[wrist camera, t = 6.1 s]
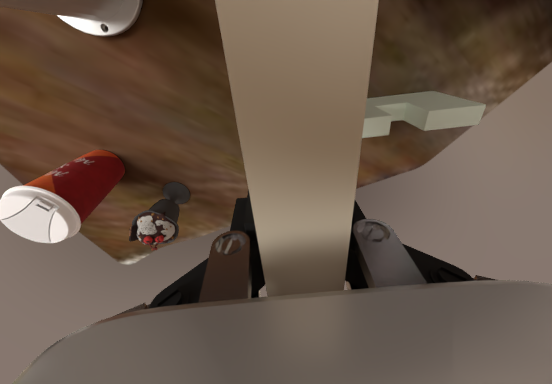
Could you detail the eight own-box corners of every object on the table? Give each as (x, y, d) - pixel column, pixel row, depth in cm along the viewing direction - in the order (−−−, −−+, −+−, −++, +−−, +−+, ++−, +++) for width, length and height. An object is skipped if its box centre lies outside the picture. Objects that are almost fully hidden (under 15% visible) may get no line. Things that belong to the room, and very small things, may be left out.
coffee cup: (93, 132, 36) (2, 178, 24) (141, 165, 40) (84, 221, 27) (71, 165, 39) (-21, 222, 27) (117, 194, 43) (56, 256, 30)
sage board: (318, 104, 36) (335, 122, 27) (433, 90, 35) (486, 104, 27) (318, 119, 37) (334, 141, 28) (429, 106, 37) (478, 124, 28)
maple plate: (253, 6, 16) (170, -251, 2) (287, 2, 16) (413, -284, 2) (275, 211, 25) (285, 396, 12) (296, 209, 25) (331, 393, 12)
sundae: (201, 190, 43) (175, 249, 30) (184, 212, 46) (154, 275, 33) (168, 171, 41) (125, 227, 28) (152, 195, 43) (106, 257, 31)
